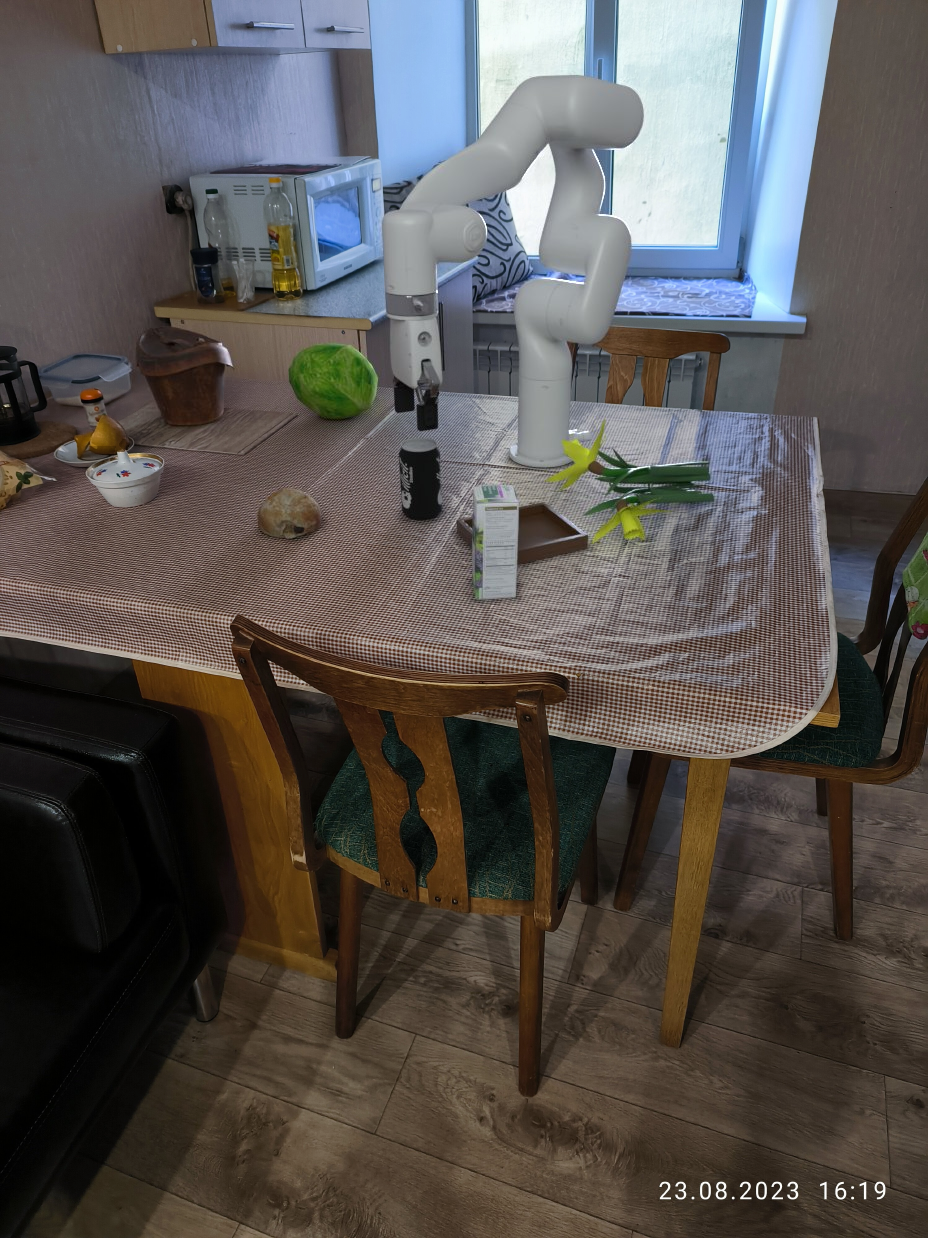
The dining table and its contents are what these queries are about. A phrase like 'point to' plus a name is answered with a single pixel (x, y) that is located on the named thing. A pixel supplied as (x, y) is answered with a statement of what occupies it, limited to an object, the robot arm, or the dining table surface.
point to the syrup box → (495, 541)
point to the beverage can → (420, 478)
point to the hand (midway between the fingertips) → (416, 420)
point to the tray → (538, 533)
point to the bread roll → (289, 514)
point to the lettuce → (333, 380)
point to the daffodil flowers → (633, 475)
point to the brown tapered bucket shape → (183, 374)
